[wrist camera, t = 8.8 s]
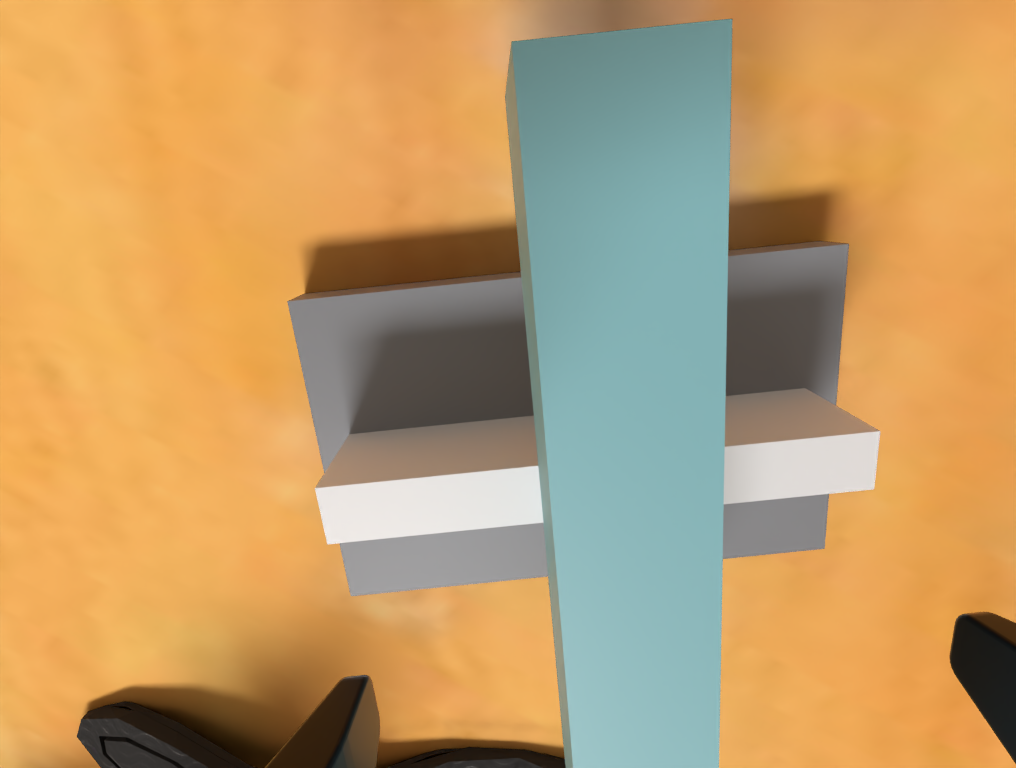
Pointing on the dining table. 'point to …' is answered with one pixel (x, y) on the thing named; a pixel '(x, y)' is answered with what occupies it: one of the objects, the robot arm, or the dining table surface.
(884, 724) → the dining table surface
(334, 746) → the robot arm
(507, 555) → the ridge stand
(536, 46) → the batten
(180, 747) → the hairbrush
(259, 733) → the dining table surface
